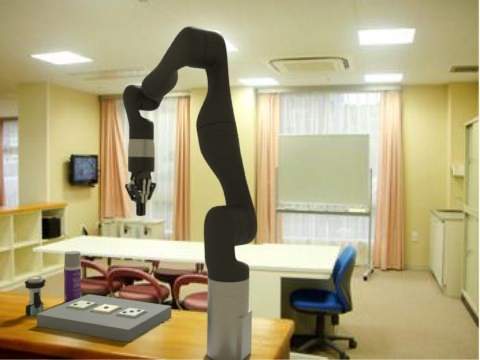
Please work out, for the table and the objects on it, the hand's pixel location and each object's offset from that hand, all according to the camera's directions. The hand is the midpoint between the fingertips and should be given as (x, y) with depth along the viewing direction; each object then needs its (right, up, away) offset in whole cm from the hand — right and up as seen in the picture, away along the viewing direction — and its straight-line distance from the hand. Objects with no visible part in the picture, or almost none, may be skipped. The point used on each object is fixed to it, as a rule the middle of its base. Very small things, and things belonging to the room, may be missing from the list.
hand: (140, 215), depth 135 cm
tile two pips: (-14, -26, -7) cm, 31 cm away
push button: (-28, -27, -4) cm, 39 cm away
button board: (-7, -27, -10) cm, 30 cm away
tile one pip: (-7, -26, -10) cm, 29 cm away
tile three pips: (0, -26, -13) cm, 30 cm away
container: (-22, -27, +6) cm, 35 cm away
